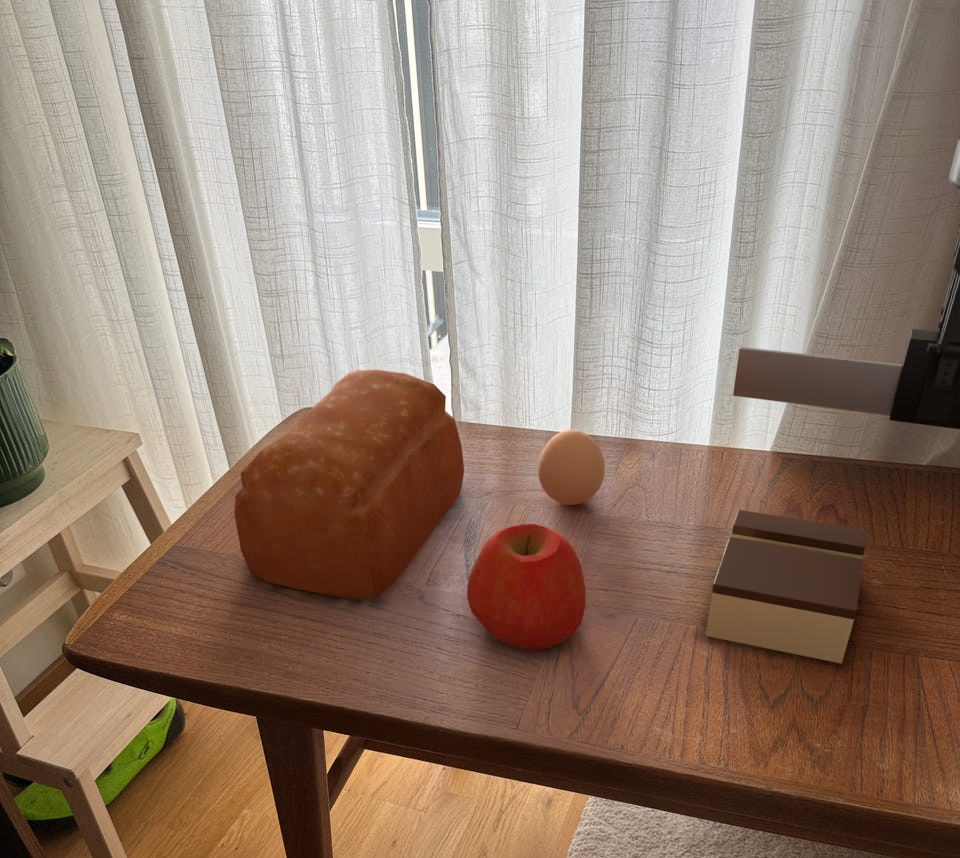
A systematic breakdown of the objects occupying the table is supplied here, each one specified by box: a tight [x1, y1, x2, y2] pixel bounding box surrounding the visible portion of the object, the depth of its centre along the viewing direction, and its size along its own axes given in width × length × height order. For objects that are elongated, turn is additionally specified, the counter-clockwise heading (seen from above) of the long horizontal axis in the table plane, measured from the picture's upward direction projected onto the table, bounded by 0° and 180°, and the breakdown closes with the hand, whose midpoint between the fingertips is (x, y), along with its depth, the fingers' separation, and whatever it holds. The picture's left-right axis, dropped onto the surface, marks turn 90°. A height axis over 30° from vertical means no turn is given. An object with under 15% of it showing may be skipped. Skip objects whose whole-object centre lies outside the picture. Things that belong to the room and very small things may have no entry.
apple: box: [466, 523, 587, 650], centre depth 84 cm, size 11×11×11 cm
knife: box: [732, 328, 960, 430], centre depth 87 cm, size 22×2×8 cm, turn 67°
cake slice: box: [731, 509, 868, 559], centre depth 89 cm, size 12×3×6 cm, turn 68°
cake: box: [705, 536, 864, 664], centre depth 84 cm, size 12×8×6 cm, turn 68°
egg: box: [537, 429, 606, 506], centre depth 101 cm, size 7×7×8 cm
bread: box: [233, 369, 465, 600], centre depth 96 cm, size 17×24×15 cm
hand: (932, 410), depth 87 cm, fingers closed on knife, 2 cm apart
